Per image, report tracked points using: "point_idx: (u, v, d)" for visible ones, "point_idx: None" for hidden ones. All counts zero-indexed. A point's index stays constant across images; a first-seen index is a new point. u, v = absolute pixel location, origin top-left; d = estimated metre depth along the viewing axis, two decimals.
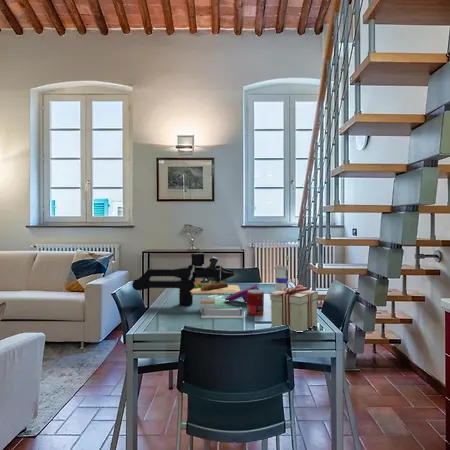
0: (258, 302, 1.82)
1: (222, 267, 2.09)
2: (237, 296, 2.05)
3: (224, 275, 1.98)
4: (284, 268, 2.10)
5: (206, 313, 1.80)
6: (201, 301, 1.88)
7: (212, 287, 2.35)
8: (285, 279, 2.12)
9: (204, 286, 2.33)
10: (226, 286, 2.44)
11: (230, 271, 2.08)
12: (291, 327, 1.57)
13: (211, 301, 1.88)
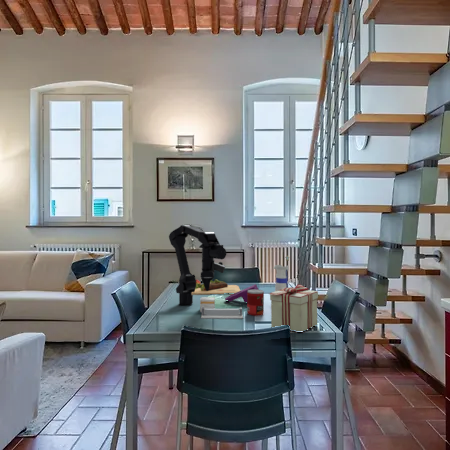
0: (258, 302, 1.82)
1: None
2: (237, 296, 2.05)
3: (206, 281, 1.85)
4: (284, 268, 2.10)
5: (206, 313, 1.80)
6: (201, 301, 1.88)
7: (212, 287, 2.35)
8: (285, 279, 2.12)
9: None
10: (226, 286, 2.44)
11: None
12: (291, 327, 1.57)
13: (211, 301, 1.88)
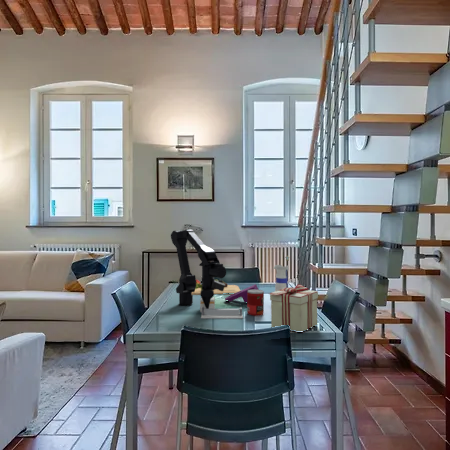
0: (258, 302, 1.82)
1: None
2: (237, 296, 2.05)
3: (206, 299, 1.87)
4: (284, 268, 2.10)
5: (206, 313, 1.80)
6: (201, 301, 1.88)
7: None
8: (285, 279, 2.12)
9: None
10: (226, 286, 2.44)
11: None
12: (291, 327, 1.57)
13: (211, 301, 1.88)
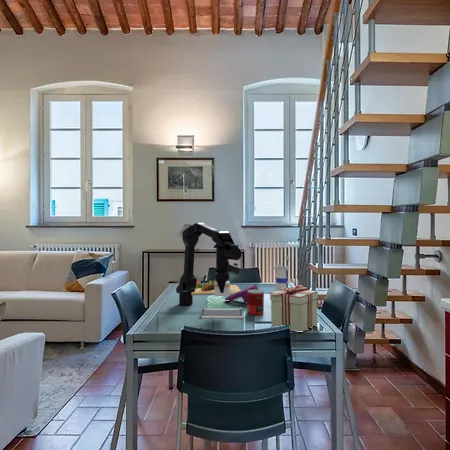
0: (258, 302, 1.82)
1: None
2: (237, 296, 2.05)
3: (221, 282, 1.77)
4: (284, 268, 2.10)
5: (206, 313, 1.80)
6: (215, 285, 1.78)
7: (212, 287, 2.35)
8: (285, 279, 2.12)
9: (205, 286, 2.33)
10: None
11: None
12: (291, 327, 1.57)
13: (226, 285, 1.78)
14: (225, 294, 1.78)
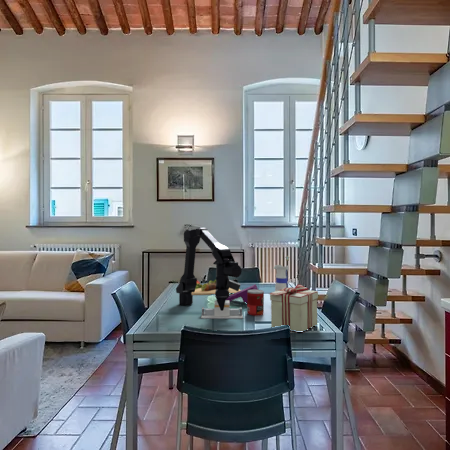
0: (258, 302, 1.82)
1: None
2: (236, 296, 2.05)
3: (221, 300, 1.75)
4: (284, 268, 2.10)
5: (206, 313, 1.80)
6: (215, 304, 1.78)
7: (213, 287, 2.35)
8: (285, 279, 2.12)
9: (205, 286, 2.32)
10: None
11: None
12: (291, 327, 1.57)
13: (226, 304, 1.78)
14: (224, 314, 1.78)
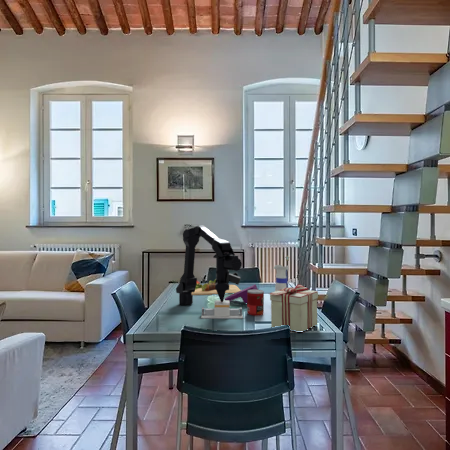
0: (258, 302, 1.82)
1: None
2: (236, 296, 2.05)
3: (221, 291, 1.80)
4: (284, 268, 2.10)
5: (206, 313, 1.80)
6: (215, 304, 1.78)
7: (213, 287, 2.35)
8: (285, 279, 2.12)
9: (205, 286, 2.32)
10: None
11: None
12: (291, 327, 1.57)
13: (226, 304, 1.78)
14: (224, 314, 1.78)
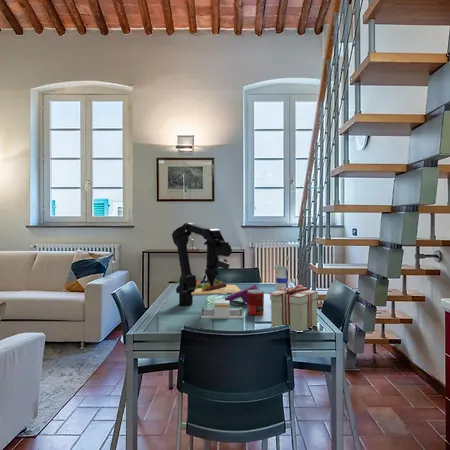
0: (258, 302, 1.82)
1: None
2: (236, 296, 2.05)
3: (211, 276, 1.88)
4: (284, 268, 2.10)
5: (206, 313, 1.80)
6: (215, 304, 1.78)
7: (213, 287, 2.35)
8: (285, 279, 2.12)
9: (205, 286, 2.32)
10: (225, 286, 2.45)
11: None
12: (291, 327, 1.57)
13: (226, 304, 1.78)
14: (224, 314, 1.78)
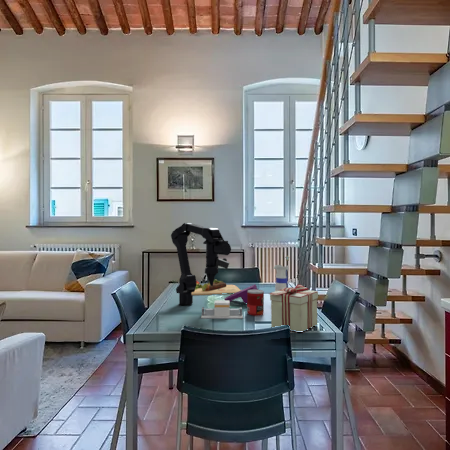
0: (258, 302, 1.82)
1: None
2: (236, 296, 2.05)
3: (210, 275, 1.88)
4: (284, 268, 2.10)
5: (206, 313, 1.80)
6: (215, 304, 1.78)
7: (213, 287, 2.35)
8: (285, 279, 2.12)
9: (206, 286, 2.32)
10: (225, 286, 2.45)
11: None
12: (291, 327, 1.57)
13: (226, 304, 1.78)
14: (224, 314, 1.78)
